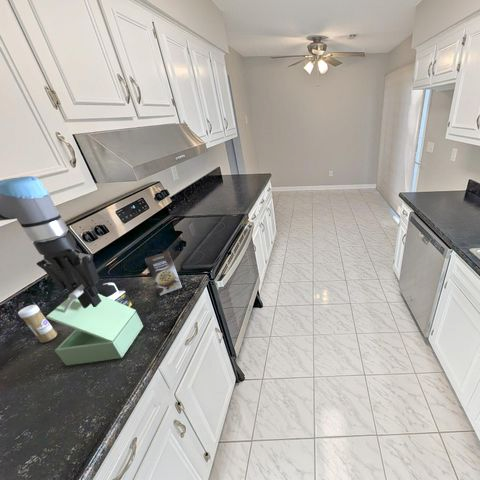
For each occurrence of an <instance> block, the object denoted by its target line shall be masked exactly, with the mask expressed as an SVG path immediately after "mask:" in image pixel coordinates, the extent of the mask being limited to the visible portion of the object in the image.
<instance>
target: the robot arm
mask: <svg viewBox="0 0 480 480" xmlns="http://www.w3.org/2000/svg"><path fill="white" fill-rule="evenodd" d="M9 220H17V222H18V223H19V225H20V226H21V227H22V229H23V231H24V232H25V233H26V236H27V237H28V239H29V240H30V241H32V242H33V243H32V245H33V246H34V247H35V249H36V251H37V253H38V254H39V255H42V256H43V259H41V260H39V261H38V262H36V265H37V266H38V267H39V268H41V269H42V270H43V271H44V272H45V273H46V275H48V276H49V277H50V279H51V280H52V281H53V282H54V283H55V285H56V286H57V287H58V288H59V289H60V290H61V291H64V290H68V291H69V292H71V293H72V292H73V291H74V290H75V289H77V288H78V287H79V286H80V285H81V284H82V285H83V286H84V287H85V288H84V289H83V291H84V293H82V294H81V295H80V296H79V297H78V298H77V299H78V300H79V302H80V303H81V305H82V306H83V308H87V307H88V306H89V305H90V304H92V306H93V307H96V306H97V305H98V304H99V303H100V302H101V299H100V297H99V296H98V293H99V292H98V290H97V288H98V287H96V285H97V284H98V283H100V281H101V279H100V276H99V273H98V271H97V268H96V265H95V263H94V254H93V253H91V252H89V253H83V252H82V251H81V250H80V249H78V248H77V241H76V240H75V238H74V236H73V234H72V232H69V228H68V226H67V224H66V222H65V221H64V219H63V217H62V216H61V214H60V212H59V210H58V209H57V207H56V205H55V203H54V201H53V199H52V198H51V195H50V192H49V191H48V190H47V188H45V186H44V184H43V183H42V181H41V180H40V179H39V178H38V177H36V176H32V175H27V176H19V177H11V178H5V179H1V180H0V222H1V221H9ZM77 279H78V280H77ZM78 281H79V282H78Z"/></svg>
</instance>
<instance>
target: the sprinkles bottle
mask: <svg viewBox="0 0 480 480" xmlns="http://www.w3.org/2000/svg"><path fill="white" fill-rule="evenodd" d="M17 314H18V316H19V317H20V318H21V319H22V320H23V321H24V322H25V323H26V325H27V327H28V328H29V329H30V330H31V331H32V333H33V334H34V336H36V337H37V339H38V340H39V343H47V342H50V341H51V340H53V339H54V338H56V337H57V336H58V332H57V331H56V330H55V329H54V328H53V325H52V324H51V323H50V322H49V320H48V319H47V318H46V317H45V315H44V314H43V312H42V311H41V310H40V307H39V306H38V305H37V304H30V305H28V306H25V307H23V308H21V309H20V310H19V311H18V312H17Z"/></svg>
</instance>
